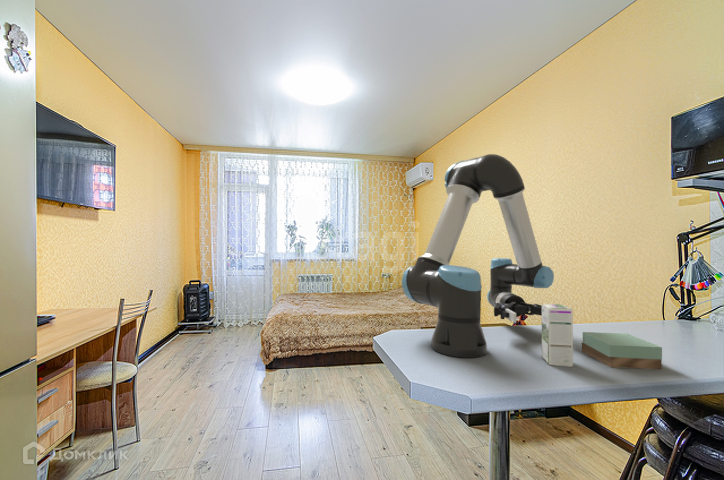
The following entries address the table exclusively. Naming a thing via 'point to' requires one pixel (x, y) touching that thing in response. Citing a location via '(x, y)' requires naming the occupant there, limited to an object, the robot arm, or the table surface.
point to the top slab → (622, 345)
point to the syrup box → (557, 335)
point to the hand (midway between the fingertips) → (539, 318)
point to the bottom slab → (622, 360)
